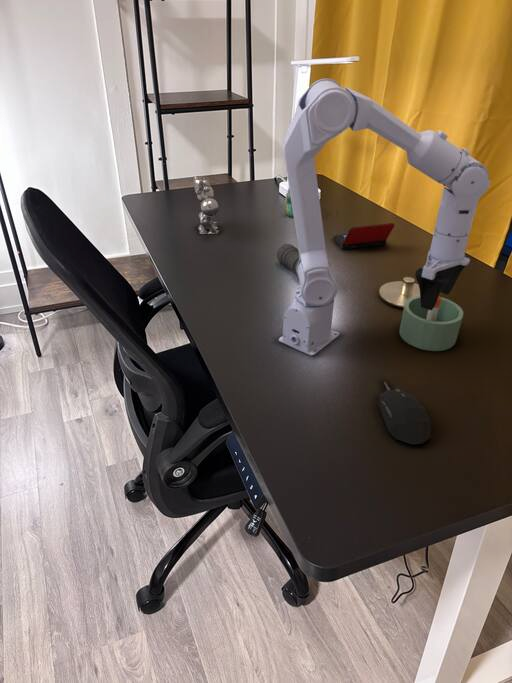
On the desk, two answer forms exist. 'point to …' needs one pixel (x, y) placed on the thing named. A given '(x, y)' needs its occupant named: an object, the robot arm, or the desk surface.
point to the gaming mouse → (404, 416)
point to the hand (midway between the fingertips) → (435, 300)
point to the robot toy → (206, 205)
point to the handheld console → (364, 236)
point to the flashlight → (288, 256)
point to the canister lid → (399, 291)
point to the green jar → (288, 205)
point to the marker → (434, 311)
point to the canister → (430, 325)
